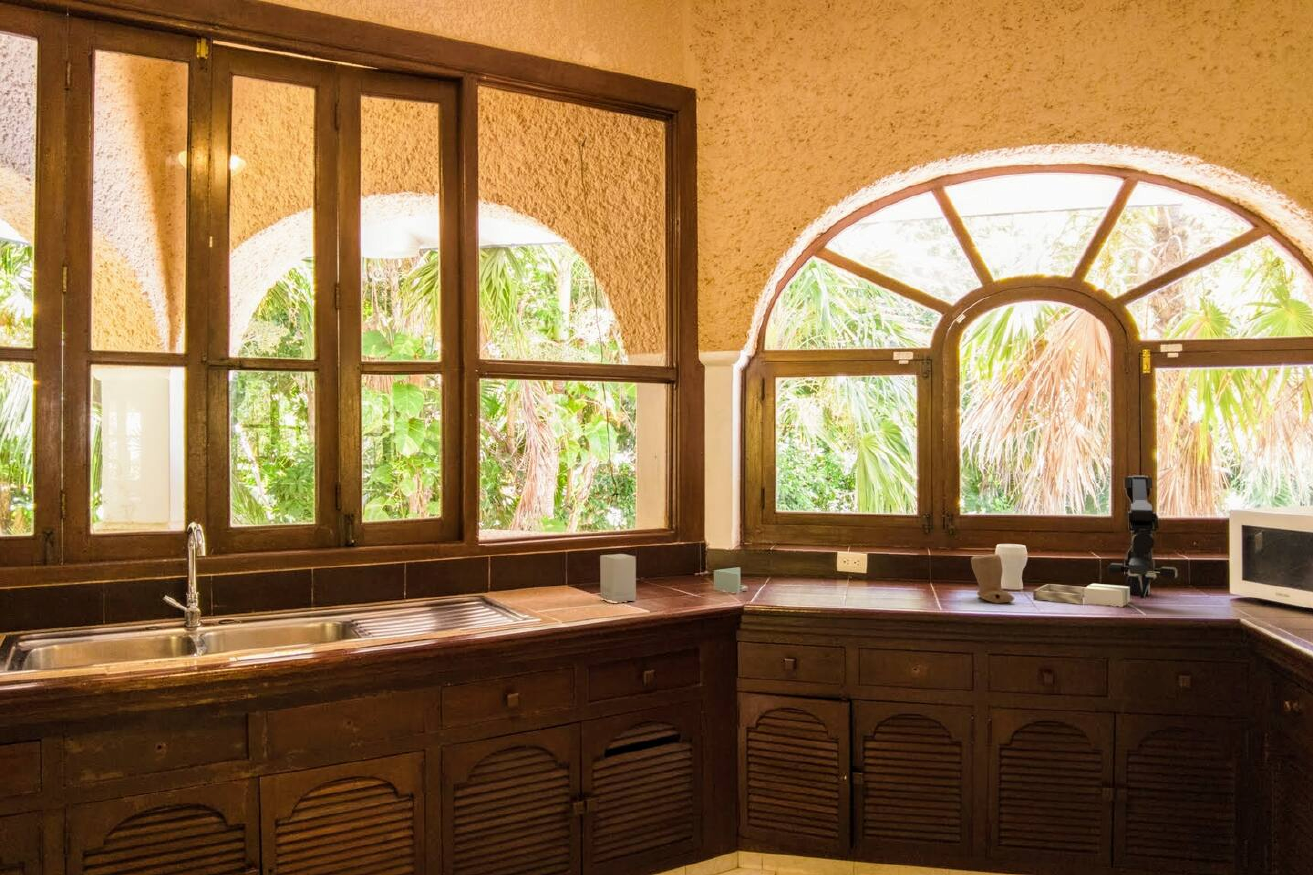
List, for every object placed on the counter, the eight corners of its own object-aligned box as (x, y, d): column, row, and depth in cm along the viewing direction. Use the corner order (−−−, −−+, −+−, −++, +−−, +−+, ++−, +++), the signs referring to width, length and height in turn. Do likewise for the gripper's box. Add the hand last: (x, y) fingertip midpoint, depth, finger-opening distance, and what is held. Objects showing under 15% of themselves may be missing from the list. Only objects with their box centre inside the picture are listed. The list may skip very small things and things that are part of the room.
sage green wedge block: (737, 596, 305) (737, 574, 305) (713, 591, 314) (713, 570, 314) (762, 592, 312) (762, 570, 312) (738, 588, 321) (738, 567, 321)
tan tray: (1094, 597, 295) (1094, 588, 295) (1082, 604, 282) (1082, 594, 282) (1047, 592, 305) (1047, 583, 305) (1033, 599, 292) (1033, 590, 292)
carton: (1130, 602, 286) (1129, 586, 286) (1122, 607, 278) (1122, 591, 278) (1092, 598, 293) (1092, 583, 293) (1084, 603, 285) (1083, 587, 285)
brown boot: (969, 595, 300) (968, 551, 300) (1006, 596, 298) (1006, 551, 298) (975, 603, 285) (975, 556, 285) (1014, 604, 283) (1014, 557, 283)
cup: (990, 585, 319) (989, 543, 319) (1018, 585, 320) (1018, 543, 320) (1004, 590, 309) (1003, 547, 309) (1033, 590, 310) (1033, 546, 310)
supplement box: (636, 601, 292) (636, 556, 292) (612, 604, 287) (612, 558, 287) (623, 597, 300) (623, 553, 300) (599, 600, 295) (599, 555, 295)
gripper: (1103, 548, 279) (1104, 598, 279) (1171, 552, 267) (1172, 605, 267) (1111, 545, 287) (1111, 593, 287) (1177, 549, 276) (1178, 599, 276)
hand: (1142, 598), depth 279 cm, fingers closed
